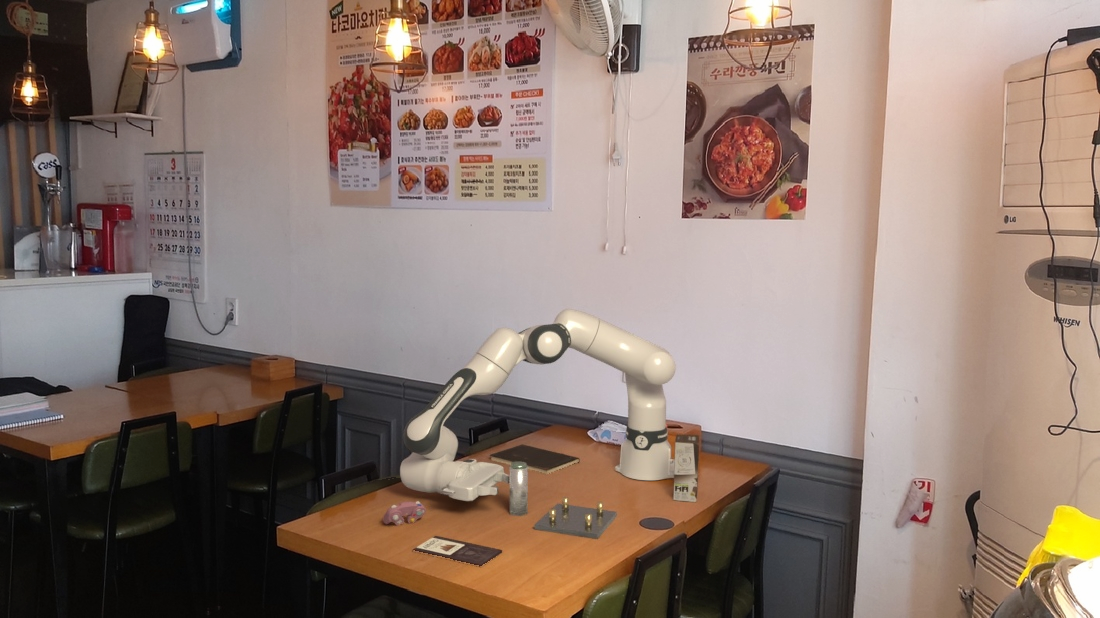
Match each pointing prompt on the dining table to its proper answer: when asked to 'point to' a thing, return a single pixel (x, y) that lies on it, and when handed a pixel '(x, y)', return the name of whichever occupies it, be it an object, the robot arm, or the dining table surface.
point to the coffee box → (686, 467)
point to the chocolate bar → (458, 550)
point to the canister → (518, 488)
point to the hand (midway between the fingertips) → (505, 485)
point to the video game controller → (404, 512)
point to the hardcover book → (535, 458)
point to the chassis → (576, 520)
